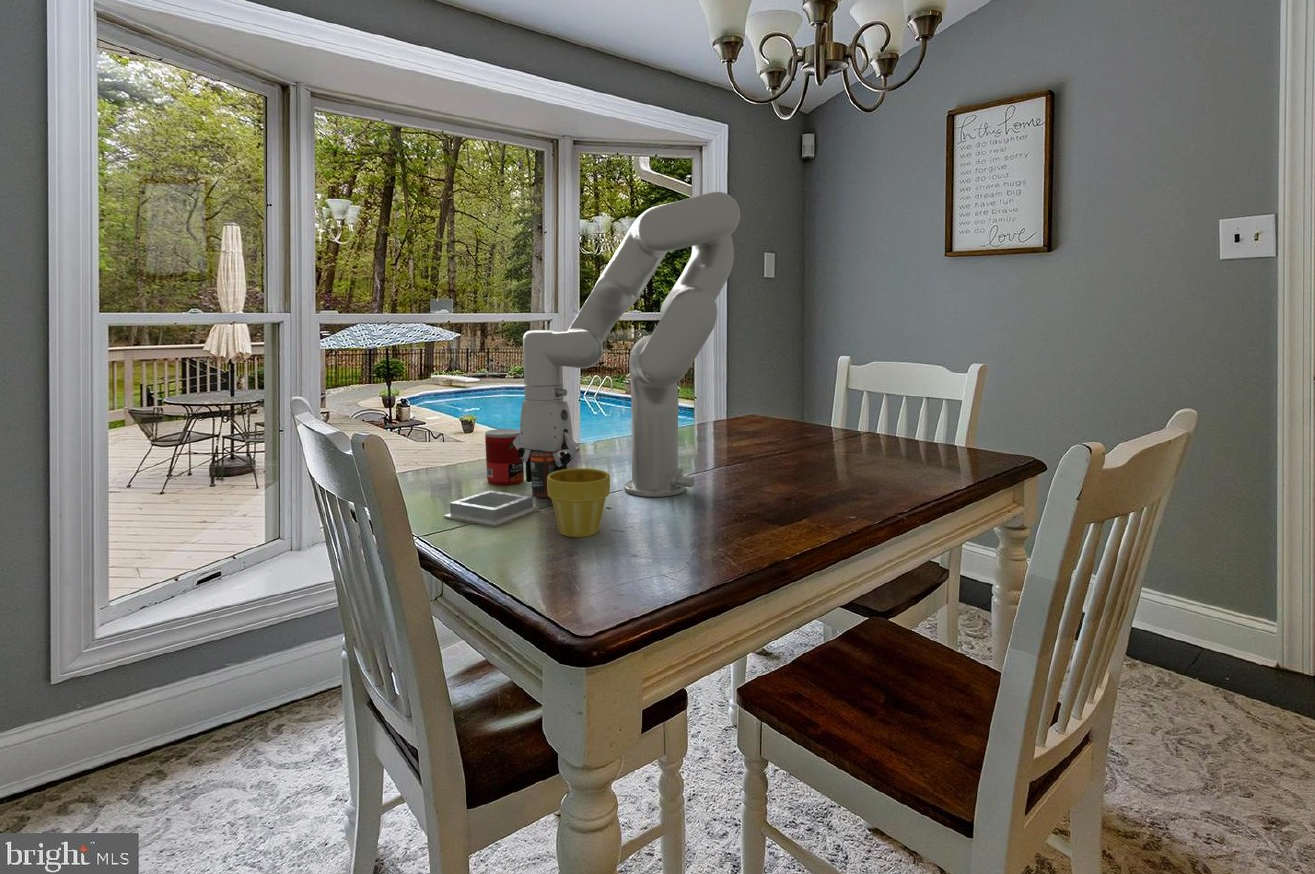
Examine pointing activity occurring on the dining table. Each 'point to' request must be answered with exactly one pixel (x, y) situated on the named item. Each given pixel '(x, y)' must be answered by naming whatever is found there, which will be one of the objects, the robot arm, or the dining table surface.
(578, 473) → the plant pot
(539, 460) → the supplement bottle
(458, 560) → the dining table surface
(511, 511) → the holder
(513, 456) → the canned food
